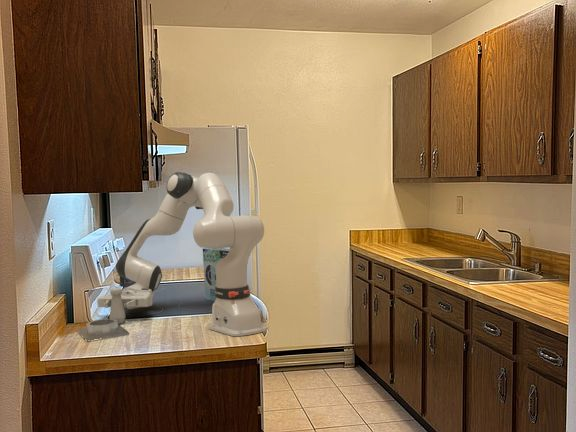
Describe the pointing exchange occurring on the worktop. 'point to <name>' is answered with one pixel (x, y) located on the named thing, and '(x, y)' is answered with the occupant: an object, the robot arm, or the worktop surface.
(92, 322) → the duct flange
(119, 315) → the salt shaker
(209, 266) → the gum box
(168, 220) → the robot arm
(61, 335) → the worktop surface
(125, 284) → the small box
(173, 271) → the worktop surface
